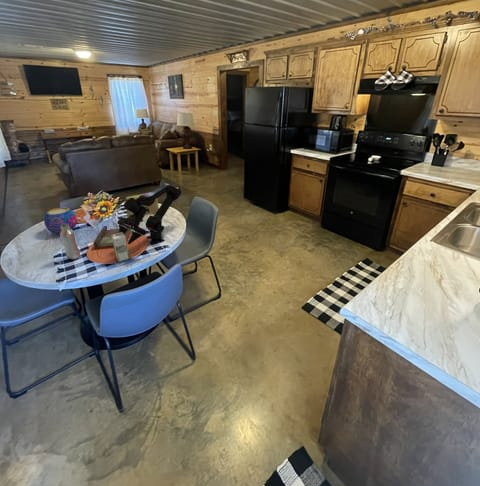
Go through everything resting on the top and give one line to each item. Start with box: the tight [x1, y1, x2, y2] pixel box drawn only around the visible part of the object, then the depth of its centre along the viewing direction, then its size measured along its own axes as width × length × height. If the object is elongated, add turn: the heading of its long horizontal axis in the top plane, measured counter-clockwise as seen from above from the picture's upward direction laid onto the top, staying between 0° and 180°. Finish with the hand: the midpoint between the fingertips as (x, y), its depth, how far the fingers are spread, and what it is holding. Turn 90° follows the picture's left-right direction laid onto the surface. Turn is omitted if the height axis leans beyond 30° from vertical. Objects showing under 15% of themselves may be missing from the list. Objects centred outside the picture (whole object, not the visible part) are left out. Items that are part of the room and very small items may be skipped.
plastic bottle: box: [59, 224, 81, 261], centre depth 140 cm, size 6×7×20 cm
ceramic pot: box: [43, 206, 78, 235], centre depth 169 cm, size 18×18×15 cm
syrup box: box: [111, 232, 130, 263], centre depth 140 cm, size 6×6×14 cm
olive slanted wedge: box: [92, 225, 132, 250], centre depth 162 cm, size 16×22×4 cm
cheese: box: [125, 191, 160, 217], centre depth 195 cm, size 22×10×15 cm, turn 120°
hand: (123, 241), depth 141 cm, fingers open, 9 cm apart
